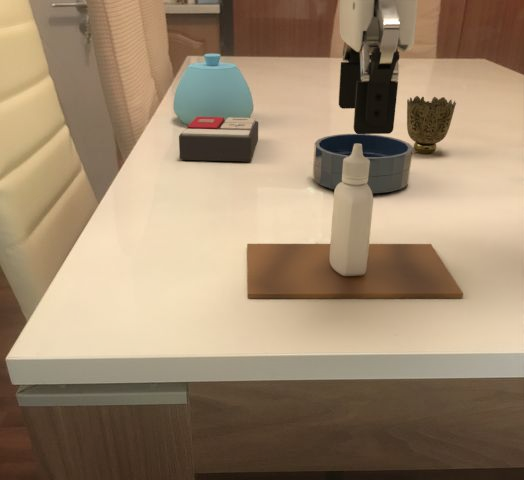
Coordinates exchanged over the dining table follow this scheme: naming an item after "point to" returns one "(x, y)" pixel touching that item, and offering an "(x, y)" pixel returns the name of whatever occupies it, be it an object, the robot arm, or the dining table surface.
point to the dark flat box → (219, 139)
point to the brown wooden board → (338, 286)
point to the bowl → (374, 148)
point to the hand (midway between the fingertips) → (363, 119)
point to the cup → (428, 122)
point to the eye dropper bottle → (352, 216)
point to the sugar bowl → (212, 91)
